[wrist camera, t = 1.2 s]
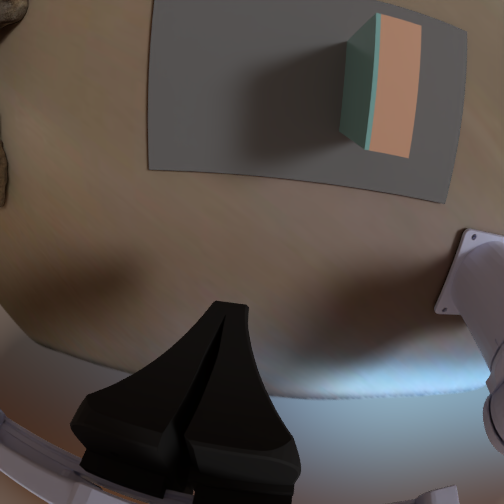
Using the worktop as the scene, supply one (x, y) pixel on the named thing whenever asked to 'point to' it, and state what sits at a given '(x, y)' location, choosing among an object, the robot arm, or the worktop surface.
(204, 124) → the mat
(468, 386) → the worktop surface
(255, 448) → the robot arm
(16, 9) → the sculpture
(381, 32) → the tile
